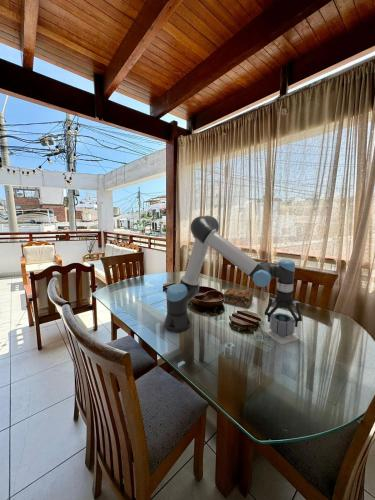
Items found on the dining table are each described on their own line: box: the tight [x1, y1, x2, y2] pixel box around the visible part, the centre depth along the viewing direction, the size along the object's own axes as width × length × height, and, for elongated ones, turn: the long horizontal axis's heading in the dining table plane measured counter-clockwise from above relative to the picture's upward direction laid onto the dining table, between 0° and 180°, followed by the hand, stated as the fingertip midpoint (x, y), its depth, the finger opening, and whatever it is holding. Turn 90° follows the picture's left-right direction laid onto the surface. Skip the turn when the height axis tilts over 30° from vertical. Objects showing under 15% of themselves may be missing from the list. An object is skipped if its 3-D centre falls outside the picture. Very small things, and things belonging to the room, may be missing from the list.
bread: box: [223, 287, 254, 309], centre depth 154 cm, size 19×11×10 cm, turn 57°
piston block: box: [264, 328, 300, 345], centre depth 114 cm, size 12×12×7 cm
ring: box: [271, 312, 294, 336], centre depth 113 cm, size 10×10×7 cm
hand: (281, 329), depth 114 cm, fingers closed on ring, 10 cm apart
